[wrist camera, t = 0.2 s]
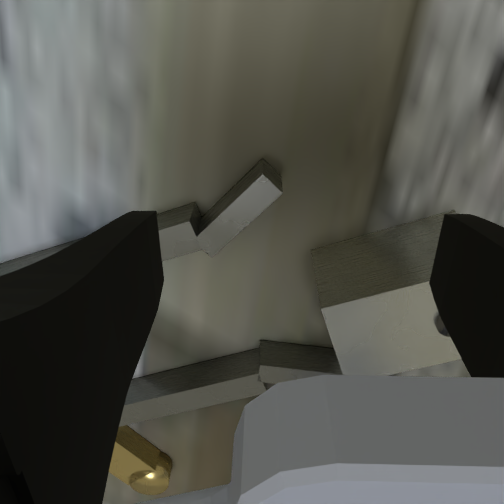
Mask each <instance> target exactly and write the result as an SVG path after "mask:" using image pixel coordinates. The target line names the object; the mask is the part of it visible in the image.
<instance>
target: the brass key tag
mask: <svg viewBox="0 0 504 504" xmlns="http://www.w3.org/2000/svg"><path fill="white" fill-rule="evenodd" d="M171 469H172V461H171V459H170V457H169V456H168V455H166V454H165V453H163V452H160V450H159V449H157V448H156V447H155V446H153V445H152V444H151V443H149V442H148V441H147V440H145V439H144V438H143V437H141V436H140V435H139V434H137V433H136V432H135V431H133V430H132V429H131V428H129V427H128V426H127V425H125V426H120V427H119V428H118V432H117V437H116V441H115V446H114V450H113V454H112V459H111V463H110V468H109V472H110V473H111V474H113V475H114V476H116V477H117V478H119V479H120V480H122V481H123V482H125V483H126V484H127V485H130V486H131V487H132V488H133V489H134V490H135V491H137V492H139V493H142V494H146V495H156V494H160V493H162V492H164V491H165V490H166V489H167V488H168V484H169V479H170V474H171Z"/></svg>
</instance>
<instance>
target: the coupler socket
mask: <svg viewBox="0 0 504 504" xmlns="http://www.w3.org/2000/svg"><path fill="white" fill-rule="evenodd" d="M281 194H283V189H282V178H281V175H280V174H279V173H278V172H277V171H276V170H275V169H273V168H272V167H271V166H270V165H269V164H268V163H267V162H266V161H265V160H264V159H262V160H261V161H260V162H259V163H257V164H256V165H255V166H254V167H253V168H252V169H251V170H250V171H249V172H248V173H247V174H246V175H245V176H244V177H243V178H242V179H241V180H240V181H239V182H238V183H237V184H236V185H235V186H234V187H233V188H232V189H231V190H230V191H229V192H228V193H226V194H225V195H224V196H223V197H222V198H221V199H220V200H219V201H218V202H217V203H216V204H215V205H214V206H213V207H212V208H211V209H210V210H209V211H208V212H207V213H206V214H205V215H204V216H203V217H201V215H200V213H199V210H198V208H197V206H196V204H195V203H192V204H189V205H186V206H183V207H179V208H176V209H173V210H170V211H167V212H163V213H160V214H157V221H158V230H159V240H160V249H161V258H162V261H165V260H168V259H172V258H175V257H178V256H182V255H185V254H189V253H192V252H195V251H199V250H203V251H204V252H206V253H207V254H208V255H209V256H211V257H213V256H214V255H215V254H217V253H218V252H219V251H220V250H221V249H222V248H223V247H224V246H225V245H226V244H228V243H229V242H230V241H231V240H232V239H233V238H234V237H235V236H236V235H237V234H239V233H240V232H241V231H242V230H243V229H244V228H245V227H246V226H247V225H248V224H250V223H251V222H252V221H253V220H254V219H255V218H256V217H257V216H258V215H259V214H261V213H262V212H263V211H264V210H265V209H266V208H267V207H268V206H269V205H270V204H272V203H273V202H274V201H275V200H276V199H277V198H278V197H279V196H280V195H281ZM84 238H85V237H84ZM81 239H83V238H81ZM81 239H78V240H75V241H71V242H68V243H65V244H62V245H59V246H56V247H52V248H49V249H46V250H43V251H40V252H36V253H33V254H30V255H27V256H24V257H21V258H17V259H14V260H11V261H8V262H5V263H2V264H0V276H2V275H5V274H8V273H11V272H13V271H16V270H18V269H21V268H23V267H26V266H28V265H31V264H33V263H36V262H38V261H40V260H42V259H44V258H47V257H49V256H51V255H53V254H55V253H57V252H59V251H60V250H62V249H64V248H66V247H68V246H70V245H72V244H74V243H76V242H77V241H79V240H81ZM319 375H343V373H342V370H341V367H340V364H339V361H338V358H337V356H336V353H335V350H334V349H332V348H324V347H315V346H307V345H298V344H290V343H281V342H273V341H264V340H260V345H259V348H257V349H253V350H249V351H245V352H241V353H237V354H233V355H229V356H225V357H221V358H217V359H213V360H209V361H205V362H201V363H197V364H193V365H189V366H185V367H181V368H177V369H173V370H169V371H165V372H161V373H157V374H153V375H148V376H144V377H140V378H136V379H132V380H131V383H130V386H129V390H128V393H127V396H126V400H125V404H124V408H123V412H122V416H121V420H120V424H119V427H120V426H125V425H129V424H133V423H138V422H142V421H146V420H151V419H155V418H160V417H164V416H168V415H173V414H177V413H181V412H186V411H190V410H195V409H199V408H203V407H208V406H212V405H216V404H221V403H225V402H230V401H234V400H238V399H243V398H247V397H251V396H256V395H260V394H262V393H264V392H265V391H267V383H273V384H277V383H280V382H285V381H291V380H296V379H302V378H308V377H313V376H319Z"/></svg>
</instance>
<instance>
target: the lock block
mask: <svg viewBox="0 0 504 504" xmlns="http://www.w3.org/2000/svg"><path fill="white" fill-rule="evenodd" d="M444 214H457V213H456V212H455V210H451V211H448V212H444V213H441V214H437V215H433V216H430V217H426V218H423V219H419V220H416V221H412V222H408V223H405V224H401V225H398V226H394V227H391V228H387V229H384V230H380V231H376V232H373V233H369V234H366V235H362V236H359V237H355V238H352V239H348V240H344V241H341V242H337V243H334V244H330V245H327V246H323V247H319V248H316V249H312V250H311V254H312V260H313V266H314V272H315V278H316V283H317V289H318V295H319V301H320V307H321V311H322V314H323V317H324V320H325V323H326V326H327V329H328V332H329V335H330V338H331V341H332V344H333V347H334V350H335V353H336V356H337V358H338V361H339V364H340V367H341V370H342V373H343V375H364V376H388V375H392V374H397V373H401V372H406V371H410V370H415V369H419V368H424V367H428V366H433V365H437V364H441V363H446V362H450V361H455V360H459V359H462V358H461V356H460V354H459V353H458V351H457V349H456V347H455V345H454V343H453V341H452V339H451V337H450V335H449V333H448V331H447V329H446V327H445V325H444V323H443V321H442V319H441V317H440V315H439V313H438V310H437V307H436V304H435V301H434V298H433V294H432V291H431V288H430V285H429V281H430V277H431V272H432V268H433V263H434V259H435V254H436V250H437V245H438V241H439V236H440V231H441V227H442V222H443V218H444Z"/></svg>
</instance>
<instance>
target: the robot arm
mask: <svg viewBox="0 0 504 504" xmlns="http://www.w3.org/2000/svg"><path fill="white" fill-rule="evenodd" d="M163 282H164V276H163V267H162V258H161V249H160V240H159V230H158V221H157V212H156V211H131V212H129V213H126V214H124V215H122V216H121V217H119V218H117V219H115V220H114V221H112V222H110V223H109V224H107V225H105V226H103V227H102V228H100V229H98V230H97V231H95V232H93V233H92V234H90V235H88V236H86V237H85V238H83V239H81V240H79V241H77V242H76V243H74V244H72V245H70V246H68V247H66V248H64V249H62V250H60V251H59V252H57V253H55V254H53V255H51V256H49V257H47V258H44V259H42V260H40V261H38V262H36V263H33V264H31V265H28V266H26V267H23V268H21V269H18V270H16V271H13V272H11V273H8V274H5V275H2V276H0V504H102V501H103V497H104V492H105V487H106V482H107V477H108V472H109V468H110V463H111V459H112V454H113V450H114V446H115V441H116V437H117V432H118V428H119V424H120V420H121V416H122V412H123V408H124V404H125V400H126V396H127V393H128V390H129V386H130V383H131V380H132V377H133V375H134V372H135V369H136V367H137V364H138V362H139V359H140V356H141V354H142V351H143V348H144V346H145V343H146V341H147V338H148V335H149V333H150V330H151V327H152V324H153V322H154V319H155V316H156V313H157V311H158V306H159V302H160V297H161V292H162V287H163ZM429 285H430V288H431V291H432V294H433V298H434V301H435V304H436V307H437V310H438V313H439V315H440V317H441V319H442V321H443V323H444V325H445V327H446V329H447V331H448V333H449V335H450V337H451V339H452V341H453V343H454V345H455V347H456V349H457V351H458V353H459V354H460V356H461V358H462V360H463V362H464V364H465V366H466V368H467V370H468V372H469V374H470V375H471V377H422V376H364V375H319V376H313V377H308V378H302V379H296V380H291V381H285V382H280V383H277V384H275V385H274V386H272V387H271V388H270V389H268V390H267V391H265V392H264V393H262V394H261V395H260V396H258V397H257V398H255V399H254V400H252V401H251V402H249V403H248V404H247V405H245V407H244V410H243V412H242V415H241V418H240V421H239V423H238V426H237V429H236V431H235V434H234V446H233V460H232V475H231V482H230V483H229V484H227V485H222V486H217V487H212V488H207V489H203V490H198V491H193V492H188V493H183V494H179V495H174V496H169V497H164V498H159V499H155V500H150V501H145V502H140V503H135V504H504V227H501V226H499V225H497V224H495V223H492V222H490V221H488V220H485V219H483V218H480V217H477V216H474V215H470V214H444V218H443V222H442V227H441V231H440V236H439V241H438V245H437V250H436V254H435V259H434V263H433V268H432V272H431V277H430V281H429Z"/></svg>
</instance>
